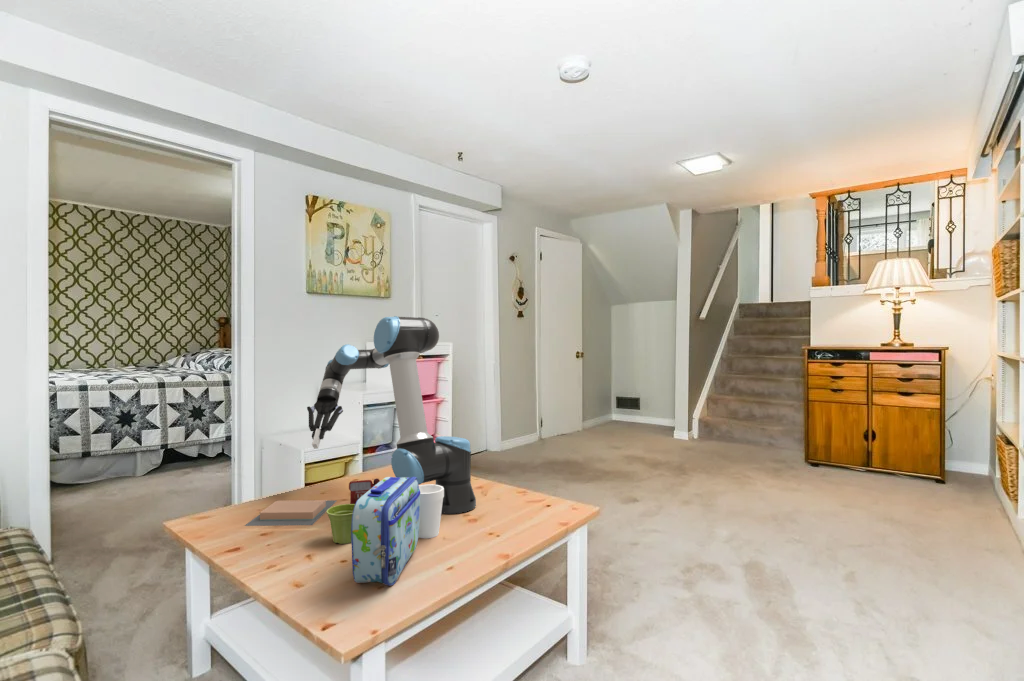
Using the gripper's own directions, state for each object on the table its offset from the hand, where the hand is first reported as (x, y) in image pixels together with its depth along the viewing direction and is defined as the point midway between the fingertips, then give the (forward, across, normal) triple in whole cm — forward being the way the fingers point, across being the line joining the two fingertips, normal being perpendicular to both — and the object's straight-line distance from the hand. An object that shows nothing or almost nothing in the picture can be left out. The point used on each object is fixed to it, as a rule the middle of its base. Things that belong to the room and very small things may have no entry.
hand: (315, 446), depth 182 cm
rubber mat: (+23, +2, -3) cm, 24 cm away
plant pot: (+40, -20, +12) cm, 46 cm away
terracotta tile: (+19, +2, -5) cm, 20 cm away
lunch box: (+53, -36, +25) cm, 69 cm away
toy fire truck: (+23, -21, -5) cm, 31 cm away
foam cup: (+38, -43, +10) cm, 58 cm away
